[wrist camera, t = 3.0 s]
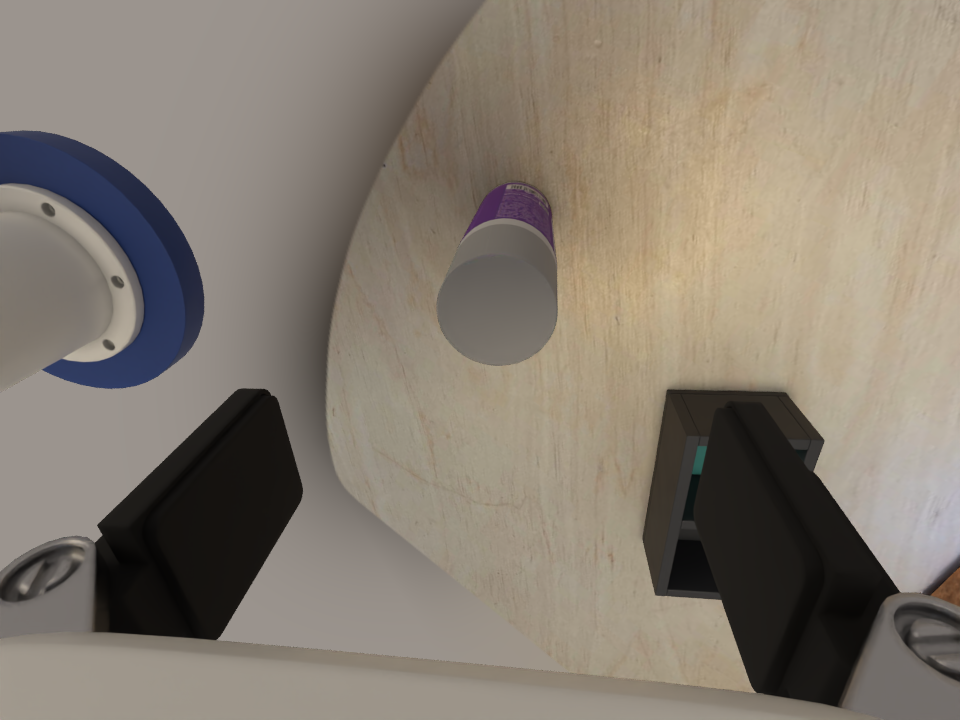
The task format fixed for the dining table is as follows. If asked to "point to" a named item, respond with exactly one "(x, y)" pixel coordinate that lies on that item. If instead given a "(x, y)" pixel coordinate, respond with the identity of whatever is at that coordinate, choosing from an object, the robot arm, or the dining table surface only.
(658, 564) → the dark grey divided box
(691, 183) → the dining table surface
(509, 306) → the container
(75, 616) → the robot arm
